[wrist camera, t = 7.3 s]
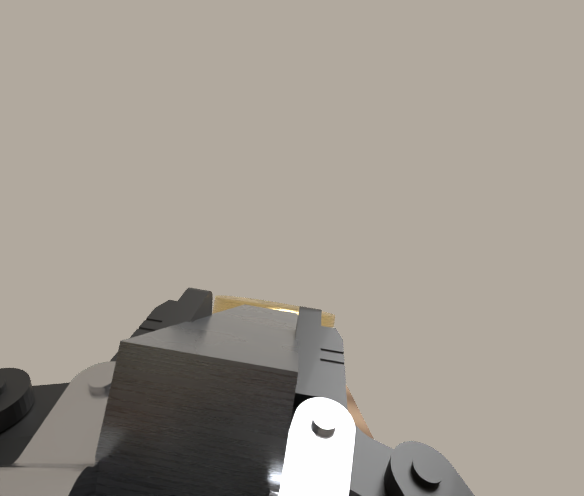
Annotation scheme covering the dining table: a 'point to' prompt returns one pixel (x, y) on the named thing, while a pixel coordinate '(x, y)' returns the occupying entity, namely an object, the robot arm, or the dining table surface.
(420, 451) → the robot arm
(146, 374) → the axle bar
